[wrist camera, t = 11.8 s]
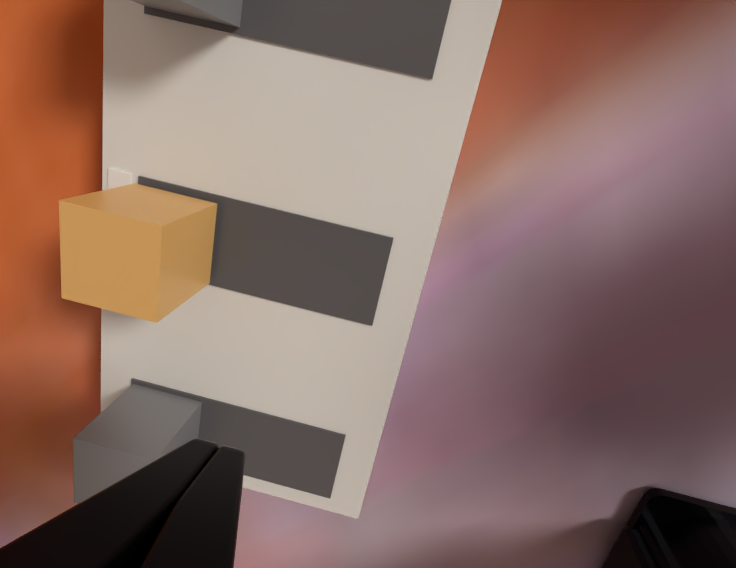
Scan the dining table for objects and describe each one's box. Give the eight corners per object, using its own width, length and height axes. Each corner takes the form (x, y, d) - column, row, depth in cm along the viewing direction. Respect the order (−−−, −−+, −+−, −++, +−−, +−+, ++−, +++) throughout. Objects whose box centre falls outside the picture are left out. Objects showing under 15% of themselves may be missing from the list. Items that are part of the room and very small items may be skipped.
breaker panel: (511, -51, 14) (555, -144, 9) (364, 485, 22) (343, 598, 17) (145, -129, 15) (-8, -259, 10) (127, 421, 23) (37, 511, 18)
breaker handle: (217, 203, 16) (161, 225, 13) (209, 283, 17) (156, 322, 14) (134, 183, 16) (59, 200, 13) (131, 263, 17) (61, 298, 14)
